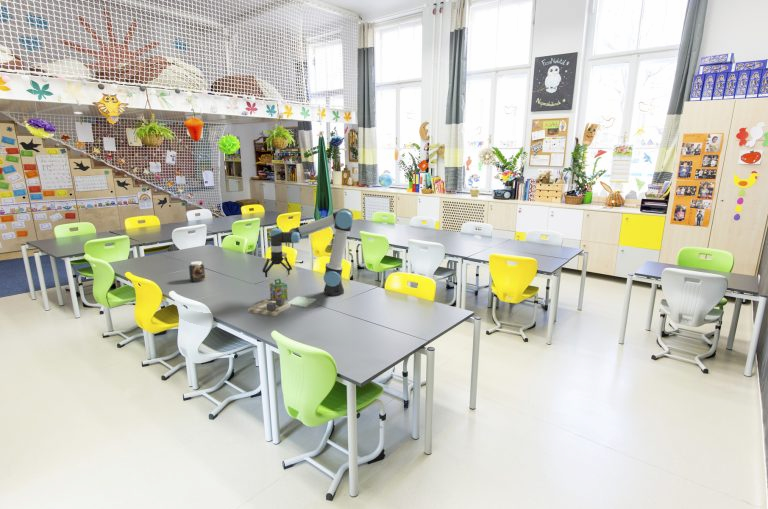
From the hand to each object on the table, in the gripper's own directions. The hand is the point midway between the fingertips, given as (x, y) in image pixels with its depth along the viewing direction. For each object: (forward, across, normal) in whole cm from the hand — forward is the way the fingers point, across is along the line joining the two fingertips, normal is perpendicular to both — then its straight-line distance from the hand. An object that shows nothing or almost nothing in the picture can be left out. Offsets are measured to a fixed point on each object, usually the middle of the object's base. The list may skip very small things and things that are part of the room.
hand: (277, 280), depth 286 cm
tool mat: (+14, -13, +13) cm, 23 cm away
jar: (+15, +50, -73) cm, 89 cm away
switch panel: (+14, +9, +17) cm, 24 cm away
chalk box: (+14, 0, 0) cm, 14 cm away
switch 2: (+11, +2, +17) cm, 21 cm away
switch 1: (+11, +9, +24) cm, 28 cm away
